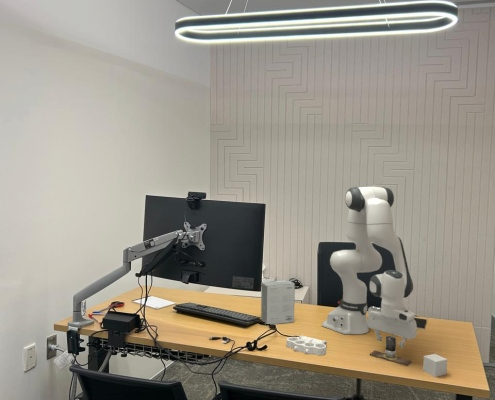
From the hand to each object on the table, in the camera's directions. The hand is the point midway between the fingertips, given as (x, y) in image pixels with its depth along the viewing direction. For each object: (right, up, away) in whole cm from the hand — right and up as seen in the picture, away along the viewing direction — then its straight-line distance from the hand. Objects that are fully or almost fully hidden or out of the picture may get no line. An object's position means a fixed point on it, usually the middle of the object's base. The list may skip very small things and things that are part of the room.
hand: (390, 343), depth 195 cm
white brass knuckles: (-33, -5, +10) cm, 35 cm away
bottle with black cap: (0, -5, 0) cm, 5 cm away
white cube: (+13, -8, -13) cm, 20 cm away
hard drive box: (-44, -3, +44) cm, 62 cm away
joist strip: (0, -6, 0) cm, 6 cm away
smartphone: (+28, -4, +45) cm, 53 cm away
